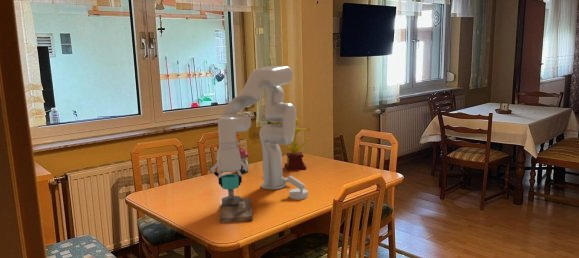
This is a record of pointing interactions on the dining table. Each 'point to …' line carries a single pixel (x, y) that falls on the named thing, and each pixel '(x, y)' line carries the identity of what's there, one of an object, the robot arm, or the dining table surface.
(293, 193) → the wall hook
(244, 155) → the decorative ornament
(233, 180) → the collar
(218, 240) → the dining table surface
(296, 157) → the potted plant
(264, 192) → the dining table surface
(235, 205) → the board
